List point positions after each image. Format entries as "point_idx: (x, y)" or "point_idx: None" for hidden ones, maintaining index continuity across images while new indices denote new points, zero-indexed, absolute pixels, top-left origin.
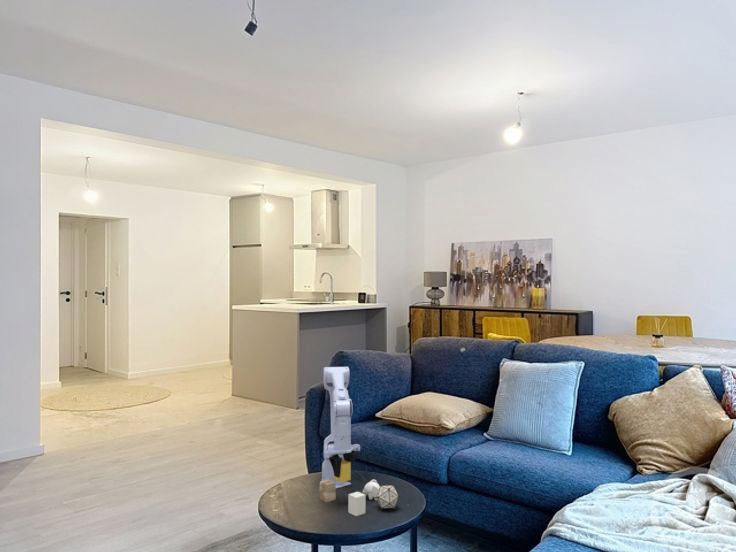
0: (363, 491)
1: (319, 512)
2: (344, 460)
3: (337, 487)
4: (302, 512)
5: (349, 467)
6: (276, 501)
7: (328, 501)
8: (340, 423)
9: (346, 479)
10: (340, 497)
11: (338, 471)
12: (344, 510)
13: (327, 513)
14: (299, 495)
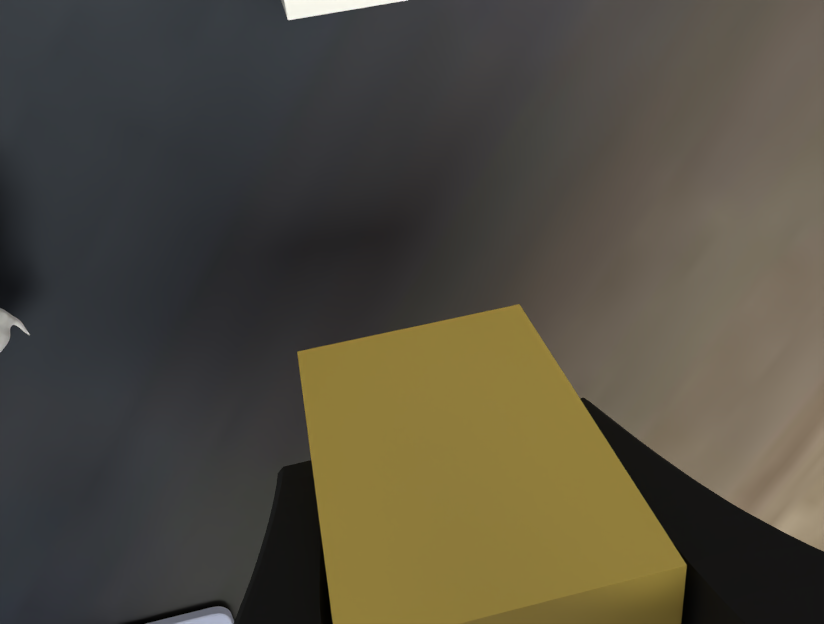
0: (3, 314)
1: (698, 148)
2: None
3: (193, 617)
4: (813, 233)
5: (363, 531)
6: (789, 527)
7: None
8: None
9: (408, 346)
10: (275, 415)
11: (660, 457)
12: (440, 47)
13: (654, 74)
14: None
